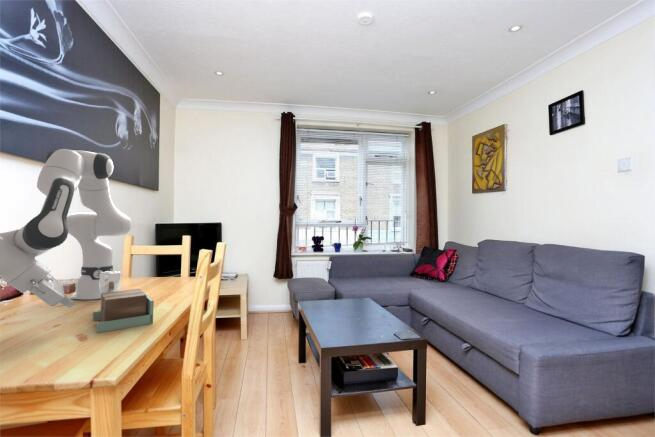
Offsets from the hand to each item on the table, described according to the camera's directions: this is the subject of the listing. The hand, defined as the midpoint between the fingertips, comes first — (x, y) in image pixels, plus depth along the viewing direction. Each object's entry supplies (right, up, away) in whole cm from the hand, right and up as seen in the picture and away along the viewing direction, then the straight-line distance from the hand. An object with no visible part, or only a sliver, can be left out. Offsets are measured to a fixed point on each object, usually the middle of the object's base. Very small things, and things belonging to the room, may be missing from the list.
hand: (72, 304), depth 101 cm
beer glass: (-4, -9, +23) cm, 25 cm away
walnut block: (+10, -9, +9) cm, 17 cm away
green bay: (+10, -9, +9) cm, 16 cm away
